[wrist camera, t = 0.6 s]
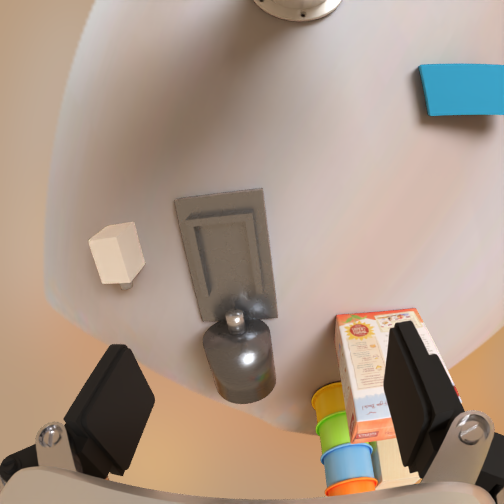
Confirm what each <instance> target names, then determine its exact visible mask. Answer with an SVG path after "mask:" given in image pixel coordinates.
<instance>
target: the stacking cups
mask: <svg viewBox="0 0 504 504" xmlns="http://www.w3.org/2000/svg"><path fill="white" fill-rule="evenodd" d="M311 403H312V406H313V408H314V409H315V410H316V415H317V425H316V433H317V434H318V436H320V439H321V447H322V456H321V463H322V464H323V465H324V466H325V475H326V483H327V489H326V490H325V494H326V495H327V496H328V497H329V496H338V495H347V494H355V493H362V492H369V491H375V486H376V485H377V483H378V481H377V480H376V479H375V478H374V472H373V467H372V461H371V456H370V455H371V454H372V451H373V448H372V447H371V445H369V442H365V443H357V444H351V443H350V436H349V429H348V422H347V415H346V409H345V402H344V395H343V389H342V382H336V383H332V384H329V385H326V386H324V387H322V388H321V389H319V390H318V391H317V392H316V393H315V394H314V395H313V397H312V401H311Z"/></svg>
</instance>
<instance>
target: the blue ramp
mask: <svg viewBox="0 0 504 504" xmlns="http://www.w3.org/2000/svg"><path fill="white" fill-rule="evenodd" d="M419 71H420V76H421V81H422V85H423V90H424V96H425V101H426V107H427V113H428V115H430V116H441V115H504V65H491V64H426V65H420V66H419Z"/></svg>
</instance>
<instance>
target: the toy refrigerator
mask: <svg viewBox="0 0 504 504" xmlns="http://www.w3.org/2000/svg"><path fill="white" fill-rule="evenodd" d="M369 445H371V447H372V448H373V451H372V454H371V455H370V456H371V461H372V467H373V472H374V478H375V479H376V480H377V481H378V483H377V485H376V486H375V490H381V489H387V488H393V487H399V486H405V485H411V484H414V483H416V482H417V481H418V480H419V479H420V477H419V475H418V472H414V473H410V472H409V468H408V466H407V467H404V466H403V464H402V460H401V455H400V451H399V447H398V443H397V438H392V439H386V440H380V441H373V442H369Z"/></svg>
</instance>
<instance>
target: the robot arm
mask: <svg viewBox="0 0 504 504" xmlns="http://www.w3.org/2000/svg"><path fill="white" fill-rule="evenodd" d="M253 1H254V2H255V3H256V4H257V5H258V6H259V7H260V8H261V9H262V10H264V11H265V12H267V13H268V14H270V15H273V16H275V17H277V18H281V19H284V20H289V21H311V20H316V19H319V18H322V17H324V16H326V15H328V14H330V13H331V12H332V11H334V10H335V9H336V8H337V7H338V5H339V4H340V3H341V1H342V0H263V1H264V2H260V1H261V0H253ZM301 15H305V17H301ZM383 387H384V393H385V396H386V400H387V403H388V407H389V411H390V415H391V419H392V422H393V426H394V430H395V434H396V438H397V443H398V447H399V451H400V455H401V460H402V464H403V466H404V467H407V466H408V468H409V472H410V473H414V472H418V475H419V477H420V478H422V481H421V482H420V483H419V484H411V485H405V486H399V487H393V488H387V489H381V490H375V491H369V492H362V493H355V494H347V495H338V496H329V497H319V498H306V499H283V500H248V499H224V498H211V497H200V496H191V495H183V494H176V493H169V492H162V491H157V490H151V489H145V488H140V487H135V486H130V485H126V484H122V483H117V482H113V481H109V478H108V473H109V472H110V473H112V474H115V475H120V476H123V474H124V472H125V470H127V469H128V468H129V466H130V464H131V461H132V458H133V456H134V453H135V451H136V448H137V445H138V443H139V440H140V438H141V436H142V433H143V430H144V428H145V425H146V423H147V420H148V418H149V416H150V413H151V411H152V408H153V406H154V403H155V398H154V394H153V393H152V391H151V389H150V387H149V385H148V383H147V381H146V379H145V377H144V375H143V373H142V371H141V369H140V367H139V365H138V363H137V361H136V359H135V357H134V355H133V353H132V351H131V349H129V348H128V347H127V346H126V345H124V344H112V345H110V346H109V348H108V349H107V351H106V352H105V354H104V355H103V357H102V358H101V360H100V361H99V363H98V364H97V366H96V367H95V369H94V371H93V372H92V374H91V375H90V377H89V379H88V380H87V382H86V383H85V385H84V386H83V388H82V389H81V391H80V393H79V394H78V396H77V397H76V399H75V401H74V402H73V404H72V406H71V407H70V409H69V411H68V412H67V414H66V416H65V417H64V421H65V422H66V424H65V425H63V424H62V423H59V422H51V423H48V424H46V425H44V426H43V427H42V428H41V429H40V430H39V431H38V433H37V435H36V444H34V445H32V446H30V447H28V448H25V449H23V450H21V451H18V452H16V453H14V454H11V455H9V456H8V457H6V458H5V459H4V460H3V461H2V463H1V465H0V504H504V436H503V435H501V434H498V433H495V432H494V430H495V429H494V424H493V422H492V420H491V418H490V417H489V416H487V415H486V414H485V413H483V412H480V411H475V410H471V411H466V412H465V411H464V409H463V406H462V404H461V402H460V400H459V398H458V395H457V393H456V391H455V389H454V387H453V385H452V383H451V381H450V378H449V376H448V374H447V372H446V370H445V368H444V366H443V364H442V362H441V360H440V358H439V357H438V355H437V354H430V355H429V353H428V351H427V349H426V347H425V345H424V343H423V341H422V339H421V337H420V335H419V333H418V331H417V329H416V327H415V326H414V324H413V322H412V321H411V320H410V321H404V322H398V323H395V325H394V328H390V330H389V340H388V349H387V358H386V366H385V374H384V381H383Z"/></svg>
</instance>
